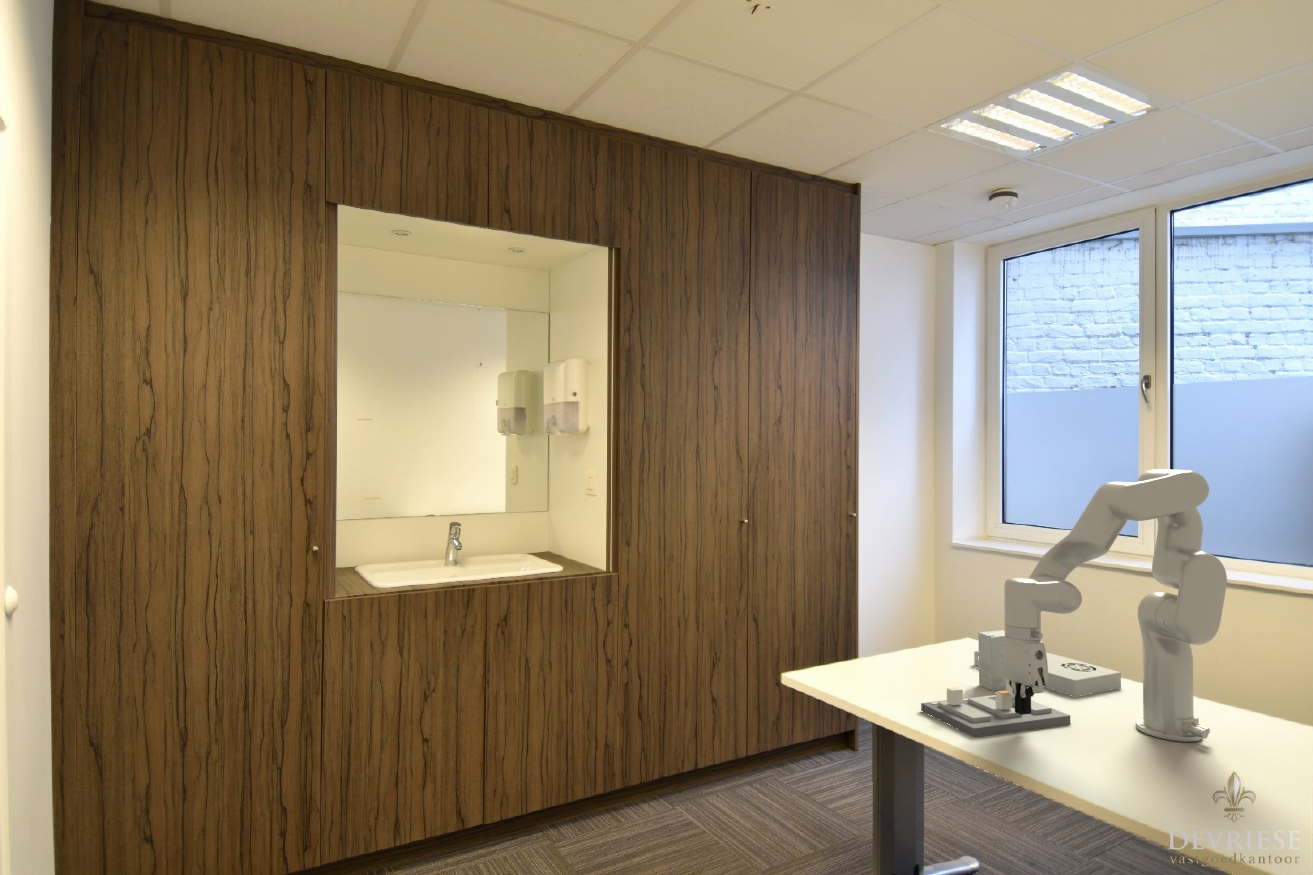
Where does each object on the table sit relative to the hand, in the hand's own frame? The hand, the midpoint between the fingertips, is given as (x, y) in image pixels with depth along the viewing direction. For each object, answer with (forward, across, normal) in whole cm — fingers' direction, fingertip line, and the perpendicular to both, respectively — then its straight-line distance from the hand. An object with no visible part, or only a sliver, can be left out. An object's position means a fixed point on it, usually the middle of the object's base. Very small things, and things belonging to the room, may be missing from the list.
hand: (1022, 712), depth 172 cm
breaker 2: (+1, +12, -9) cm, 15 cm away
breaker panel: (+4, +9, 0) cm, 10 cm away
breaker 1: (+1, +12, +9) cm, 15 cm away
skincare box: (+4, +28, -19) cm, 34 cm away
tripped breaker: (+1, +6, 0) cm, 6 cm away
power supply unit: (+5, +32, -40) cm, 52 cm away
